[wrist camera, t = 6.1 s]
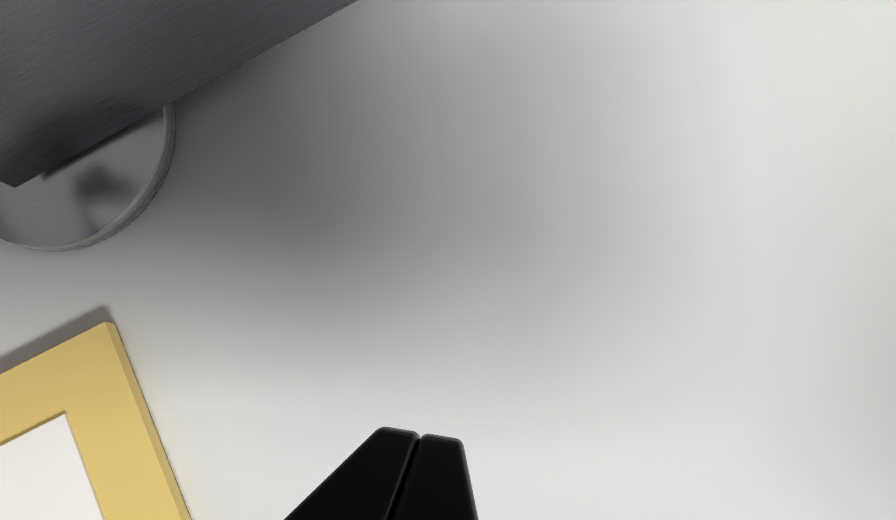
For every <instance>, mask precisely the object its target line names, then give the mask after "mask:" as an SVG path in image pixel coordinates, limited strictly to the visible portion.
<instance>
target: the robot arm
mask: <svg viewBox="0 0 896 520" xmlns="http://www.w3.org/2000/svg"><path fill="white" fill-rule="evenodd" d="M284 520H478V515H477V510H476V505H475V500H474V495H473V490H472V485H471V480H470V475H469V470H468V465H467V461H466V456H465V451H464V446H463V444H462V442H461V441H460V440H459V439H457V438H451V437H445V436H439V435H433V434H425V435H423V436H422V437H421V438H420V436H419V434H418V433H416V432H414V431H409V430H403V429H397V428H391V427H382V428H379V429H377V430H376V431H375V432H374V433H373V434H372V435H371V436H370V437H369V438H368V439H367V440H366V441H365V442H364V443H363V444H362V445H360V446H359V447H358V448H357V449H356V450H355V451H354V452H353V453H352V454H351V455H350V456H349V457H348V458H347V459H346V460H345V461H344V462H343V463H342V464H341V465H340V466H339V467H338V468H337V469H336V470H335V471H334V472H333V473H332V474H331V475H330V476H328V477H327V478H326V479H325V480H324V481H323V482H322V483H321V484H320V485H319V486H318V487H317V488H316V489H315V490H314V491H313V492H312V493H311V494H310V495H309V496H308V497H307V498H306V499H305V500H304V501H303V502H302V503H301V504H300V505H299V506H298V507H296V508H295V509H294V510H293V511H292V512H291V513H290V514H289V515H288V516H287V517H286V518H285V519H284Z"/></svg>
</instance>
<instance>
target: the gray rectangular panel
mask: <svg viewBox="0 0 896 520" xmlns="http://www.w3.org/2000/svg"><path fill="white" fill-rule="evenodd" d="M355 1H357V0H0V182H2V183H5V184H7V185H9V186H12V187H14V188H16V187H18V186H20V185H22V184H24V183H25V182H27V181H29V180H31V179H33V178H35V177H36V176H38V175H40V174H42V173H44V172H45V171H47V170H49V169H51V168H53V167H55V166H56V165H58V164H60V163H62V162H64V161H66V160H67V159H69V158H71V157H73V156H75V155H76V154H78V153H80V152H82V151H84V150H86V149H87V148H89V147H91V146H93V145H95V144H97V143H98V142H100V141H102V140H104V139H106V138H107V137H109V136H111V135H113V134H115V133H117V132H118V131H120V130H122V129H124V128H126V127H128V126H129V125H131V124H133V123H135V122H137V121H138V120H140V119H142V118H144V117H146V116H148V115H149V114H151V113H153V112H155V111H157V110H159V109H160V108H162V107H164V106H166V105H168V104H169V103H171V102H173V101H175V100H177V99H179V98H180V97H182V96H184V95H186V94H188V93H189V92H191V91H193V90H195V89H197V88H199V87H200V86H202V85H204V84H206V83H208V82H210V81H211V80H213V79H215V78H217V77H219V76H220V75H222V74H224V73H226V72H228V71H230V70H231V69H233V68H235V67H237V66H239V65H241V64H242V63H244V62H246V61H248V60H250V59H251V58H253V57H255V56H257V55H259V54H261V53H262V52H264V51H266V50H268V49H270V48H272V47H273V46H275V45H277V44H279V43H281V42H282V41H284V40H286V39H288V38H290V37H292V36H293V35H295V34H297V33H299V32H301V31H303V30H304V29H306V28H308V27H310V26H312V25H313V24H315V23H317V22H319V21H321V20H323V19H324V18H326V17H328V16H330V15H332V14H333V13H335V12H337V11H339V10H341V9H343V8H344V7H346V6H348V5H350V4H352V3H354V2H355Z"/></svg>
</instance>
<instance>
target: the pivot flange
mask: <svg viewBox="0 0 896 520" xmlns="http://www.w3.org/2000/svg"><path fill="white" fill-rule="evenodd" d="M175 131H176V129H175V115H174V110H173V105H172V102H171V103H169V104H168V105H166V106H164V107H162V108H160V109H159V110H157V111H155V112H153V113H151V114H149V115H148V116H146V117H144V118H142V119H140V120H138V121H137V122H135V123H133V124H131V125H129V126H128V127H126V128H124V129H122V130H120V131H118V132H117V133H115V134H113V135H111V136H109V137H107V138H106V139H104V140H102V141H100V142H98V143H97V144H95V145H93V146H91V147H89V148H87V149H86V150H84V151H82V152H80V153H78V154H76V155H75V156H73V157H71V158H69V159H67V160H66V161H64V162H62V163H60V164H58V165H56V166H55V167H53V168H51V169H49V170H47V171H45V172H44V173H42V174H40V175H38V176H36V177H35V178H33V179H31V180H29V181H27V182H25V183H24V184H22V185H20V186H18V187H16V188H14V187H12V186H9V185H7V184H5V183H2V182H0V238H1V239H3V240H6V241H9V242H12V243H15V244H18V245H21V246H25V247H28V248H32V249H36V250H44V251H67V250H74V249H79V248H83V247H86V246H90V245H93V244H95V243H98V242H100V241H102V240H105V239H107V238H108V237H110V236H112V235H114V234H115V233H117V232H119V231H120V230H121V229H123V228H124V227H125V226H127V225H128V224H129V223H131V222H132V221H133V220H134V219H135V218H136V217H137V216H138V215H139V214H140V213H141V212H142V211H143V210H144V209H145V208H146V206H147V205H148V204H149V203H150V201H151V200H152V199H153V197H154V196H155V194H156V193H157V191H158V189H159V188H160V186H161V184H162V182H163V180H164V178H165V176H166V174H167V171H168V168H169V165H170V162H171V159H172V155H173V150H174V145H175Z"/></svg>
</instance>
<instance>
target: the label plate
mask: <svg viewBox="0 0 896 520" xmlns="http://www.w3.org/2000/svg"><path fill="white" fill-rule="evenodd" d="M0 520H191V518H190V516H189V513H188V511H187V508H186V506H185V503H184V500H183V498H182V495H181V493H180V490H179V488H178V485H177V482H176V480H175V477H174V475H173V472H172V470H171V467H170V464H169V462H168V459H167V457H166V454H165V452H164V449H163V446H162V444H161V441H160V439H159V436H158V434H157V431H156V428H155V426H154V423H153V421H152V418H151V416H150V413H149V410H148V408H147V405H146V403H145V400H144V398H143V395H142V392H141V390H140V387H139V385H138V382H137V380H136V377H135V374H134V372H133V369H132V367H131V364H130V362H129V359H128V356H127V354H126V351H125V349H124V346H123V344H122V341H121V338H120V336H119V333H118V331H117V328H116V326H115V324H114V323H109V322H103V323H101V324H99V325H97V326H95V327H93V328H91V329H89V330H87V331H85V332H83V333H81V334H79V335H77V336H75V337H73V338H71V339H69V340H67V341H65V342H63V343H61V344H59V345H57V346H55V347H53V348H51V349H49V350H47V351H45V352H43V353H41V354H39V355H37V356H35V357H33V358H31V359H29V360H28V361H26V362H24V363H22V364H20V365H18V366H16V367H14V368H12V369H10V370H8V371H6V372H4V373H2V374H0Z"/></svg>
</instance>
